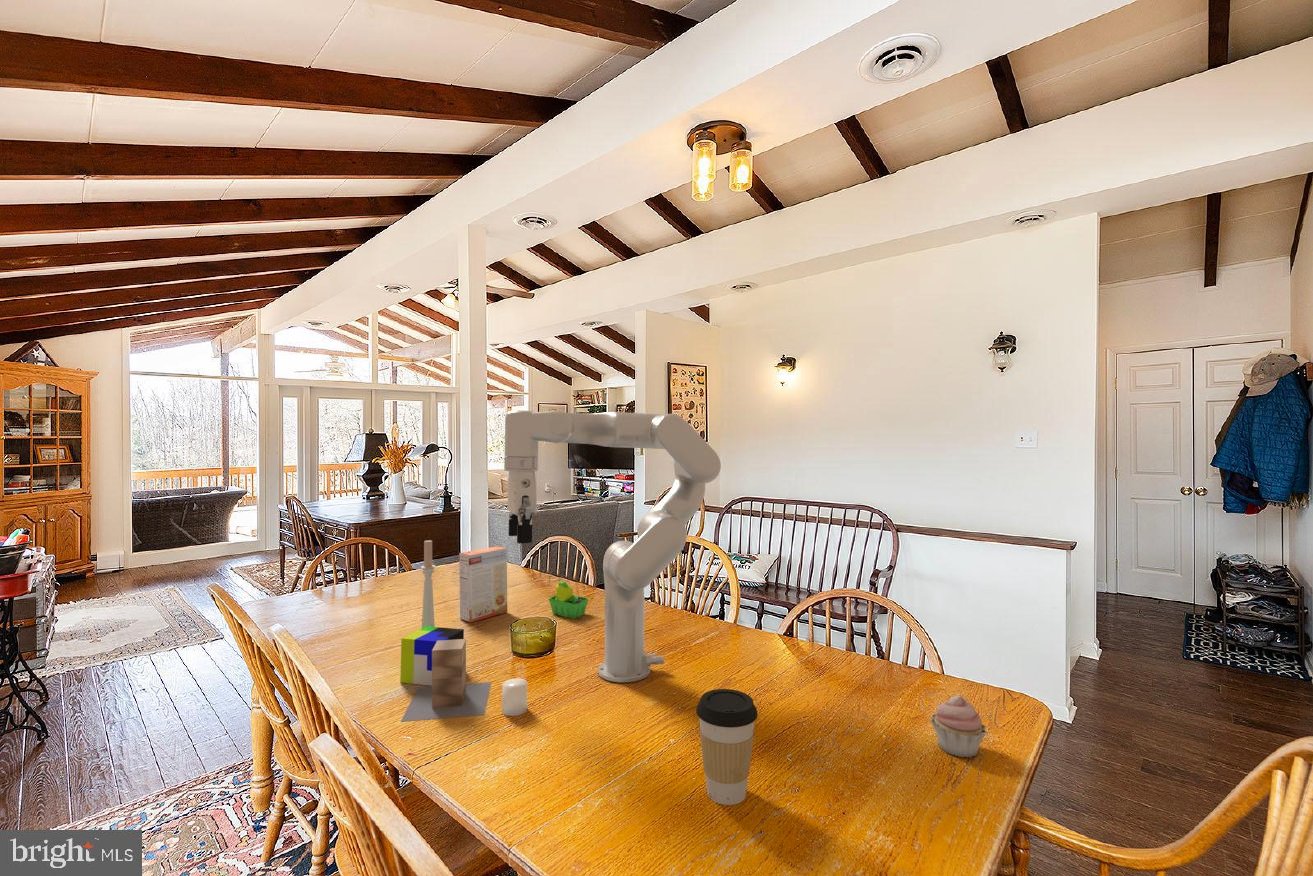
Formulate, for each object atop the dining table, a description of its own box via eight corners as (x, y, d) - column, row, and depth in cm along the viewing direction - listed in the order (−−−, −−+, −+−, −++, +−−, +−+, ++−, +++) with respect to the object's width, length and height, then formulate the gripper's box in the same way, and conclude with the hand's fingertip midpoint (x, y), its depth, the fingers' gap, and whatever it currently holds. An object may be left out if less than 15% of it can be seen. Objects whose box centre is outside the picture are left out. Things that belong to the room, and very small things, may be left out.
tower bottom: (465, 693, 129) (465, 666, 129) (461, 705, 123) (461, 677, 123) (437, 695, 128) (437, 668, 128) (431, 708, 122) (432, 679, 122)
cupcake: (957, 767, 102) (957, 710, 102) (919, 740, 111) (919, 687, 111) (999, 759, 105) (1000, 703, 104) (959, 733, 114) (959, 682, 113)
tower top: (465, 666, 129) (465, 639, 129) (461, 677, 123) (462, 648, 123) (437, 668, 128) (437, 640, 128) (432, 679, 122) (431, 650, 122)
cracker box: (497, 609, 192) (497, 545, 192) (508, 612, 188) (508, 547, 188) (458, 619, 181) (458, 552, 181) (469, 623, 177) (469, 554, 177)
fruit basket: (590, 614, 187) (590, 578, 187) (572, 621, 180) (572, 584, 180) (563, 608, 193) (563, 574, 193) (544, 615, 186) (544, 579, 186)
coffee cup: (750, 774, 99) (751, 686, 99) (763, 812, 90) (763, 714, 89) (693, 775, 99) (693, 687, 99) (699, 813, 89) (699, 715, 89)
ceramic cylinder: (527, 705, 124) (527, 677, 124) (526, 717, 119) (526, 687, 119) (503, 707, 123) (503, 679, 123) (501, 719, 118) (501, 689, 118)
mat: (491, 683, 135) (491, 682, 135) (484, 716, 119) (484, 714, 119) (418, 689, 132) (418, 687, 132) (400, 723, 116) (400, 721, 116)
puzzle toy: (439, 686, 132) (440, 641, 133) (400, 682, 134) (401, 638, 135) (462, 670, 142) (463, 629, 142) (425, 667, 144) (426, 626, 144)
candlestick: (455, 659, 150) (455, 541, 149) (400, 666, 145) (400, 545, 145) (452, 642, 162) (452, 533, 161) (402, 648, 157) (402, 536, 157)
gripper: (546, 466, 128) (545, 545, 128) (529, 462, 143) (527, 532, 143) (512, 466, 125) (510, 547, 125) (497, 462, 140) (496, 534, 140)
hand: (519, 539), depth 134 cm, fingers open, 9 cm apart
